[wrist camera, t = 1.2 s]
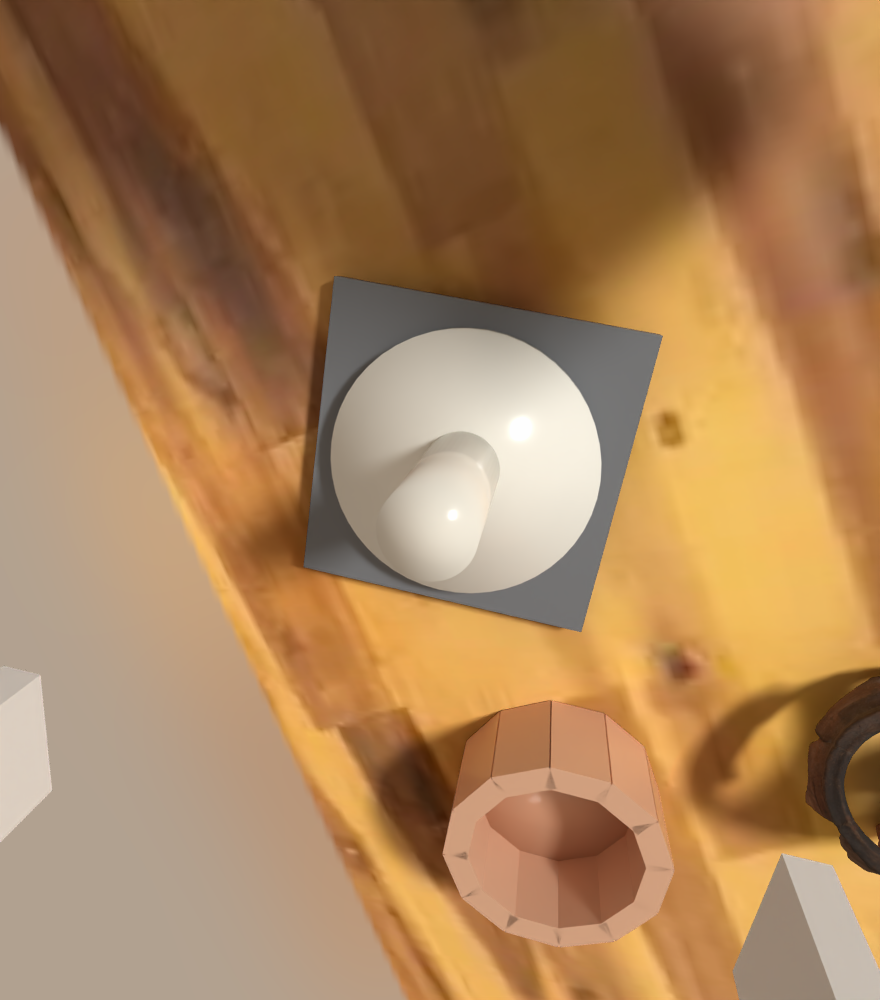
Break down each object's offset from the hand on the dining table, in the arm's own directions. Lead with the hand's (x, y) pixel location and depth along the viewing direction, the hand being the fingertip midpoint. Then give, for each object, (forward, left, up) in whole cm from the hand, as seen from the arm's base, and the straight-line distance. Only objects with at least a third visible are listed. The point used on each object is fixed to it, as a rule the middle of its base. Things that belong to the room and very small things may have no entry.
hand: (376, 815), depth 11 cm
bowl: (+16, +7, -21) cm, 27 cm away
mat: (-1, -1, -21) cm, 21 cm away
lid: (-1, -1, -20) cm, 20 cm away
